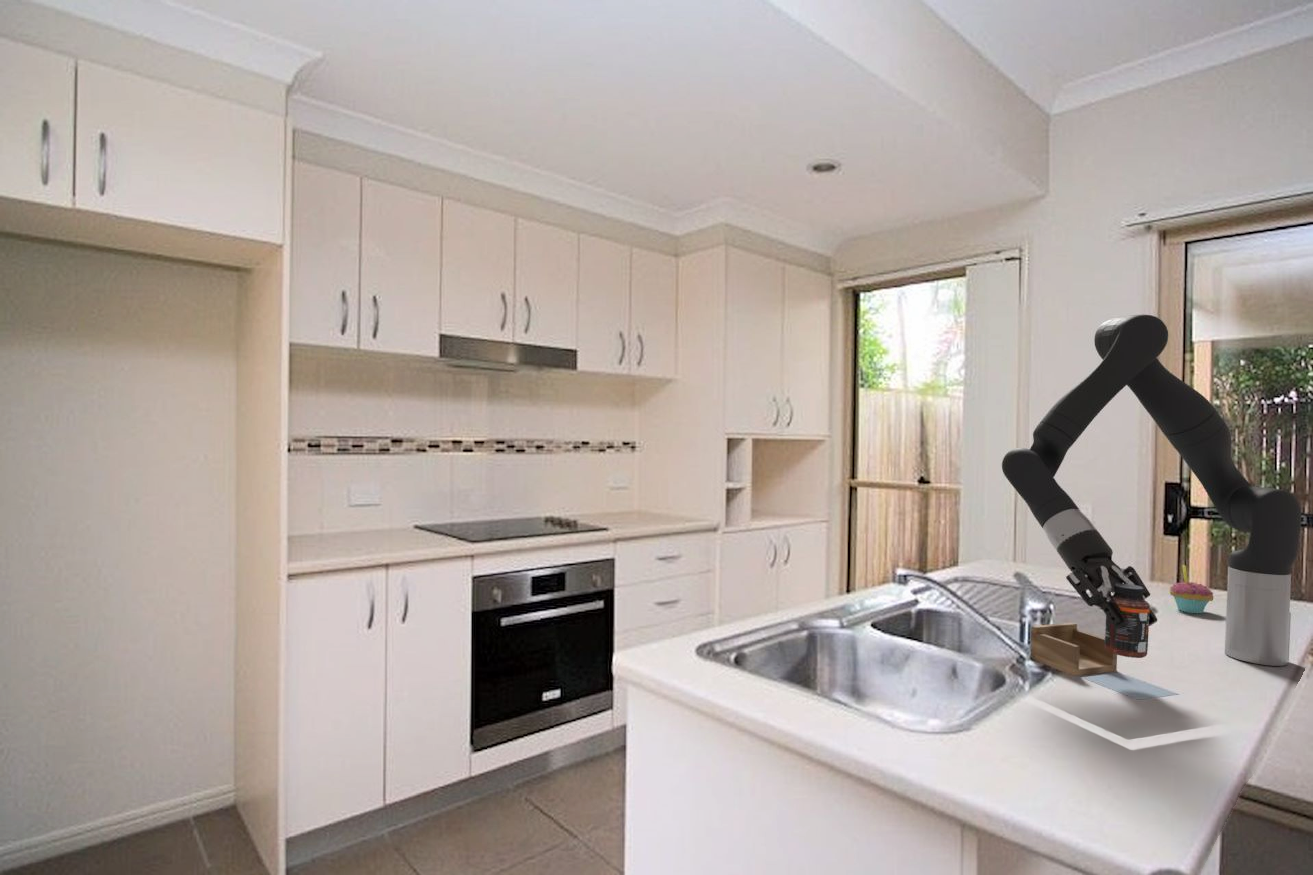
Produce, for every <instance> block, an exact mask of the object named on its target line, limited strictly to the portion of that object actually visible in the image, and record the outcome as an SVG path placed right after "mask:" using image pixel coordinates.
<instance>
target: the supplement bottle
mask: <svg viewBox="0 0 1313 875" xmlns="http://www.w3.org/2000/svg"><path fill="white" fill-rule="evenodd" d="M1114 592H1115V594H1111V595H1112V598H1113V602H1112V603H1114V602H1115V603H1116V604H1117V605H1118V607H1119V608H1120V610H1121V611H1122V612H1123V614H1124V615H1125V616H1126V618H1127V619H1128V621H1129V623H1128V624H1127V625H1126V626H1124V627H1123V628H1119V629H1118V628H1116V627H1115V626H1114V624H1112V623H1111V621H1110V619H1109V618H1108V617H1107V615H1106V614H1105V628H1104V629H1105V630H1104V638H1105V648H1106V650H1108V651H1109V652H1111V653H1114V654H1116V655H1117V656H1121V657H1125V658H1132V659H1133V658H1134V659H1141V658H1145V657H1146V656H1147V655H1148V649H1149V648H1148V647H1149V633H1150V632H1149V629H1150V626H1149V615H1150V609H1151V607H1150V603H1149V602H1148V601H1147V600H1146V599H1145V600H1144V598H1143V595H1144V594H1143V587H1140V586H1137V585H1131V584H1124V583H1123V584H1119V583H1118V584H1115V588H1114Z"/></svg>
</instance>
